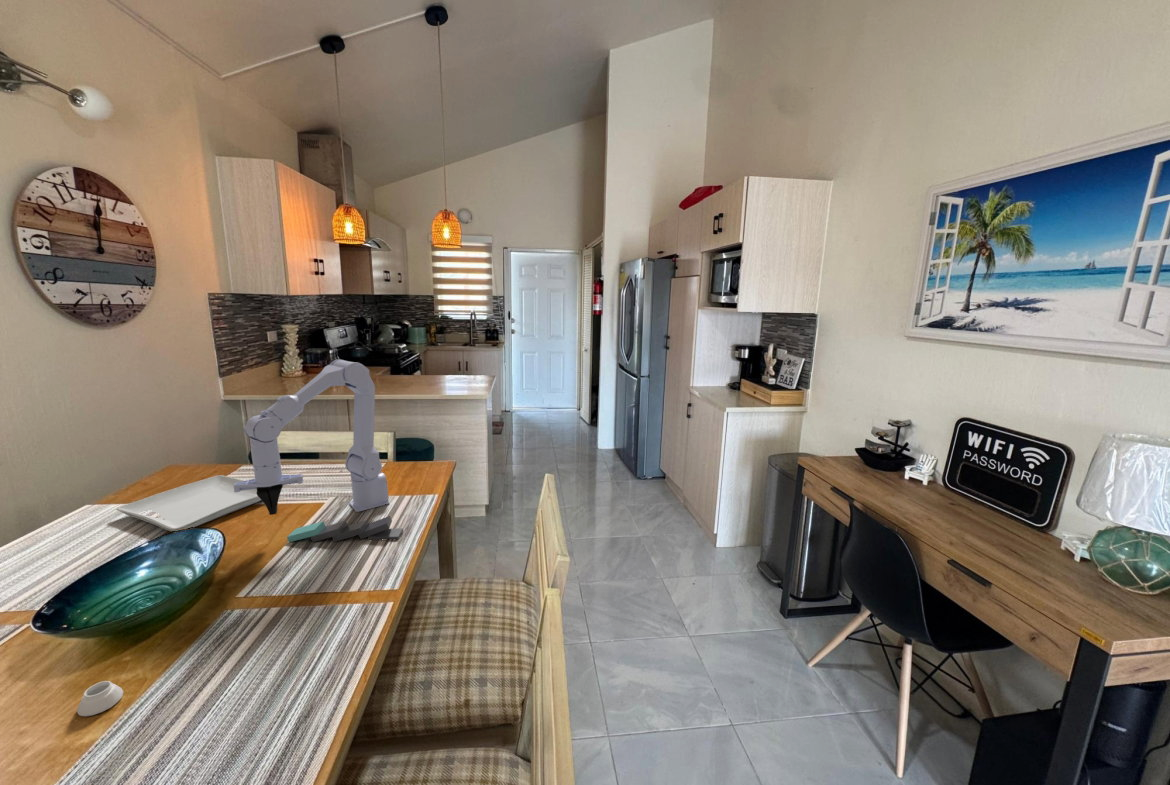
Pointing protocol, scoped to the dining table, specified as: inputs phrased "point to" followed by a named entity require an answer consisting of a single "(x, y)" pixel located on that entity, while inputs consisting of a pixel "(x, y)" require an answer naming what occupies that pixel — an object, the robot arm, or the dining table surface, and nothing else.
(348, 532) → the tile
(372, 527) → the tile
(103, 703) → the small white bowl
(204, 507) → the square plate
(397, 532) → the tile
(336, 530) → the tile
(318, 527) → the tile
